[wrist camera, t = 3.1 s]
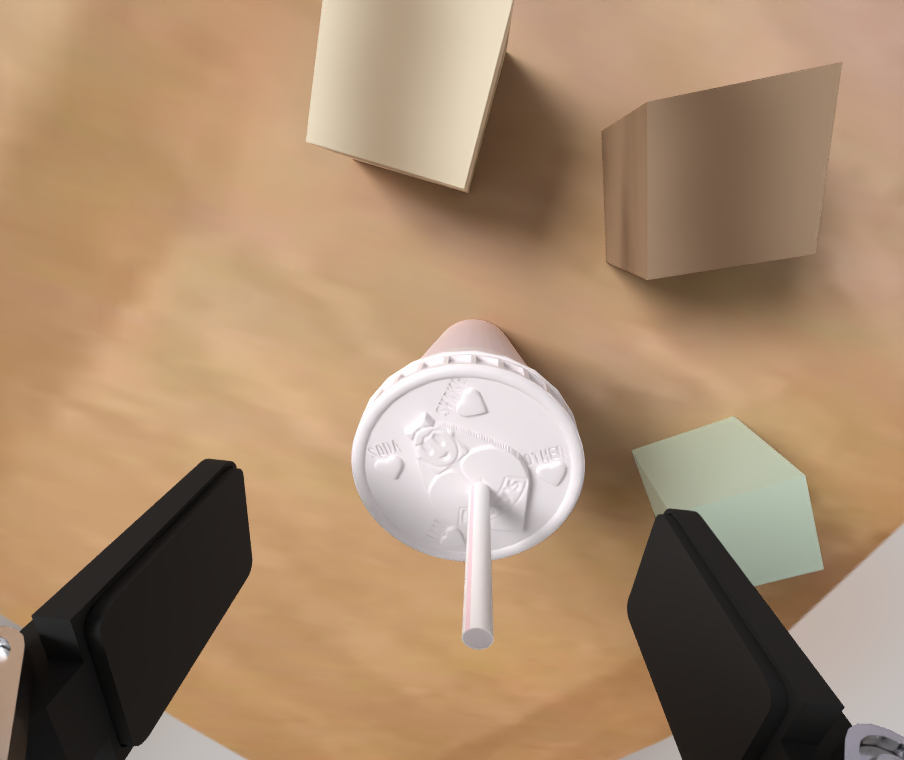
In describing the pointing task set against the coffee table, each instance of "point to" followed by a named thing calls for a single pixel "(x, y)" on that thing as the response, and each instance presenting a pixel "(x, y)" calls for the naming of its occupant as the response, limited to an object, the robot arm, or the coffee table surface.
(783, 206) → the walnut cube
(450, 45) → the maple cube
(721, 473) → the sage painted cube
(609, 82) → the coffee table surface
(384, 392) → the smoothie
